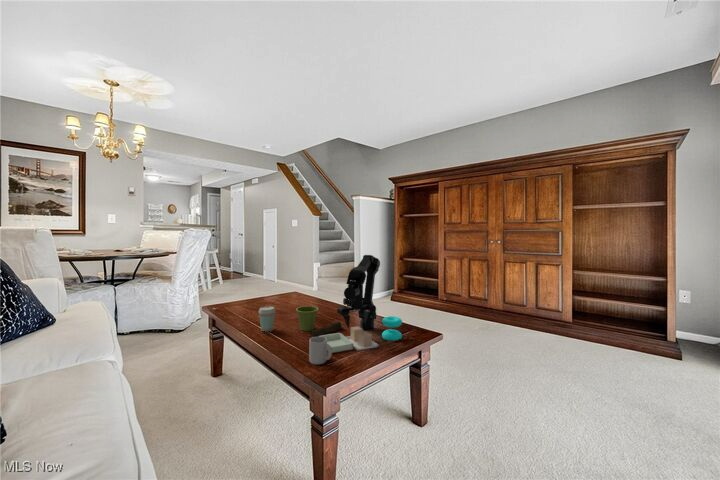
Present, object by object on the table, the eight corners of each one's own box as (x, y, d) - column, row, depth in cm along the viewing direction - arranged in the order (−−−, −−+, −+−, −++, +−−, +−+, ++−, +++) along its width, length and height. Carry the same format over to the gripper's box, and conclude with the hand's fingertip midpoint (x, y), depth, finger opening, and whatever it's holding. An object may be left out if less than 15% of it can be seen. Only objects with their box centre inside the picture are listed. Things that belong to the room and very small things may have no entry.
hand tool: (315, 339, 151) (316, 330, 151) (311, 337, 154) (311, 328, 154) (344, 330, 164) (344, 322, 164) (339, 329, 167) (339, 320, 167)
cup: (315, 356, 131) (315, 335, 130) (335, 360, 127) (336, 339, 126) (305, 362, 124) (305, 341, 124) (326, 367, 120) (326, 345, 120)
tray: (363, 336, 155) (363, 334, 155) (378, 347, 141) (378, 345, 141) (343, 339, 150) (343, 337, 150) (357, 351, 136) (357, 348, 136)
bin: (340, 338, 152) (340, 332, 151) (353, 350, 138) (353, 343, 137) (318, 342, 147) (319, 335, 147) (330, 354, 133) (330, 347, 133)
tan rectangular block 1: (358, 337, 153) (358, 326, 152) (362, 340, 149) (362, 328, 148) (350, 338, 151) (350, 327, 150) (354, 341, 147) (354, 330, 146)
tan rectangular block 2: (365, 343, 145) (366, 331, 144) (371, 346, 141) (371, 334, 141) (358, 345, 142) (358, 333, 142) (363, 348, 138) (363, 336, 138)
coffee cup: (277, 328, 166) (277, 306, 166) (271, 333, 158) (271, 310, 157) (262, 327, 167) (262, 305, 167) (255, 332, 159) (255, 309, 158)
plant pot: (291, 331, 162) (291, 310, 161) (303, 324, 173) (303, 305, 172) (310, 334, 157) (311, 312, 157) (322, 327, 168) (322, 307, 168)
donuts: (390, 314, 160) (406, 318, 153) (389, 333, 160) (405, 338, 154) (378, 318, 153) (394, 322, 146) (377, 338, 153) (393, 343, 146)
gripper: (366, 290, 160) (366, 319, 161) (333, 293, 152) (333, 324, 153) (376, 294, 150) (376, 325, 151) (341, 298, 142) (341, 331, 143)
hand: (356, 326), depth 149 cm, fingers open, 9 cm apart
